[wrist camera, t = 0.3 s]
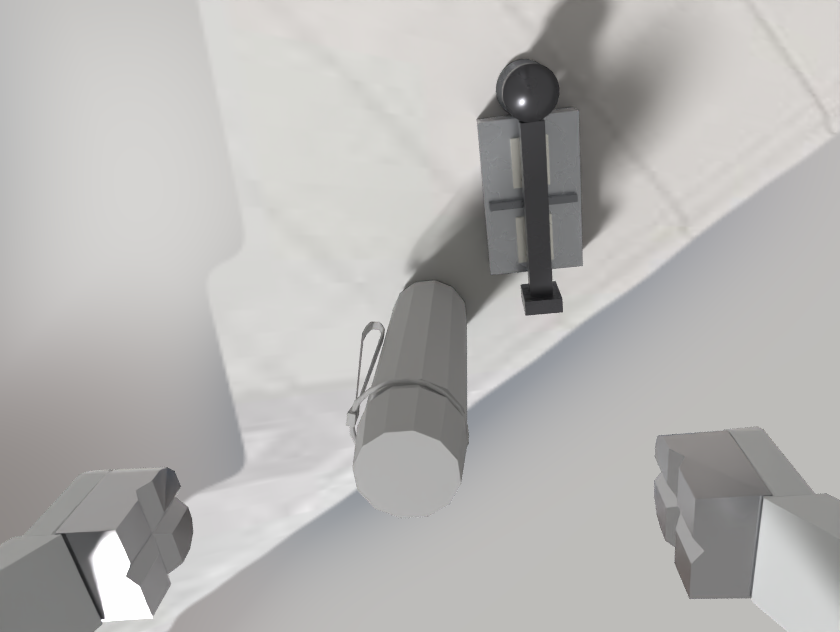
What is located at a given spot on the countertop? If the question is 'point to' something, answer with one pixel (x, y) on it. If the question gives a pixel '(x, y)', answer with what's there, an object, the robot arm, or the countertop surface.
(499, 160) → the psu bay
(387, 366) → the water bottle
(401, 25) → the countertop surface
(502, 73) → the grey round knob
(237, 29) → the countertop surface
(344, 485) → the countertop surface
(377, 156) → the countertop surface
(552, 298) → the bar
